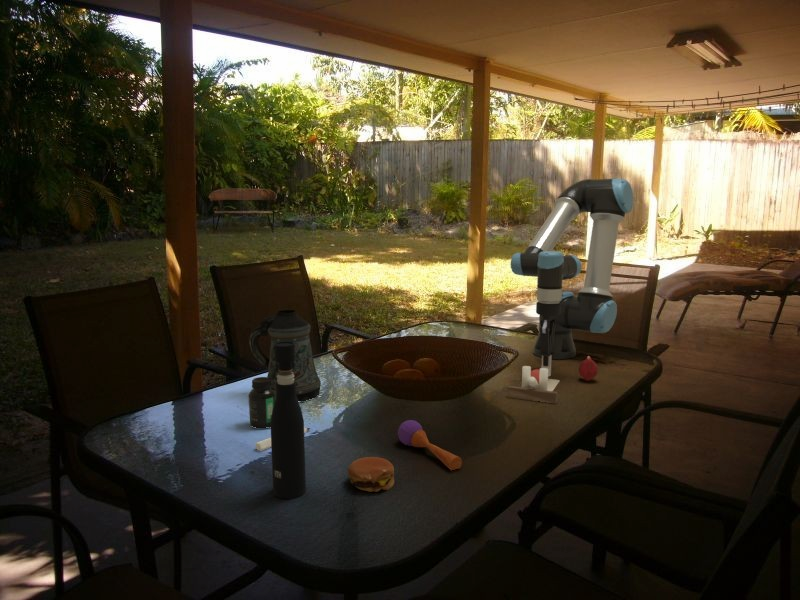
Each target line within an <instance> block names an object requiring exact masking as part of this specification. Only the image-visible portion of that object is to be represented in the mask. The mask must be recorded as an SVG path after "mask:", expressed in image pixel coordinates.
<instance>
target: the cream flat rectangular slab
mask: <svg viewBox="0 0 800 600" xmlns="http://www.w3.org/2000/svg"><path fill="white" fill-rule="evenodd" d="M558 384H560V379H552V378H548V388H547V391H553V392H554V390H555V388H557V386H558ZM530 389H532V388H531V387H530Z"/></svg>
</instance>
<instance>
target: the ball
mask: <svg viewBox="0 0 800 600" xmlns="http://www.w3.org/2000/svg"><path fill="white" fill-rule="evenodd" d="M539 374H540V368H539V369H538V368H536V369H533V370H532V369H531V377H534V378H535V379H536V380H537V382H538V384H539Z"/></svg>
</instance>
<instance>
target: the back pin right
mask: <svg viewBox="0 0 800 600" xmlns="http://www.w3.org/2000/svg"><path fill="white" fill-rule="evenodd" d="M521 368H522V370H521V373H522V374H521V387H522V388H530V385H529V383H528V378H529V377H531V371H532V367H531V366H530V365H523V366H522V367H521Z"/></svg>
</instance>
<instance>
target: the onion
mask: <svg viewBox="0 0 800 600" xmlns="http://www.w3.org/2000/svg"><path fill="white" fill-rule="evenodd" d="M598 369H599V368H598V365H597V363H596V362H595V361H594V360H593V359H592V358H591V356H589V355H588V356H587V357H586V358H585V359H584V360H582V361H581V363H580V364H579V366H578V374H579V375H580V376H581V378H582V379H583V380H585V381H586V382H590V381H591V380H593V379H594V378H595V377H596V376H597V374H598V372H599V370H598Z"/></svg>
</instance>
